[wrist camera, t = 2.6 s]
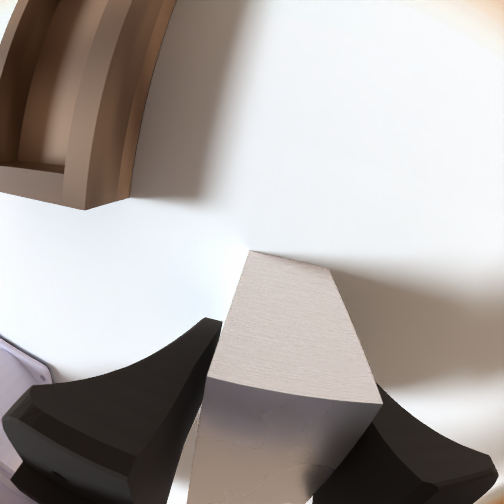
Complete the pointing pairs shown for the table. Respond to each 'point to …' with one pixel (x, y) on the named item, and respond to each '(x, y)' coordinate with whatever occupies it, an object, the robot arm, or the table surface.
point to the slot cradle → (76, 96)
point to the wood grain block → (281, 389)
